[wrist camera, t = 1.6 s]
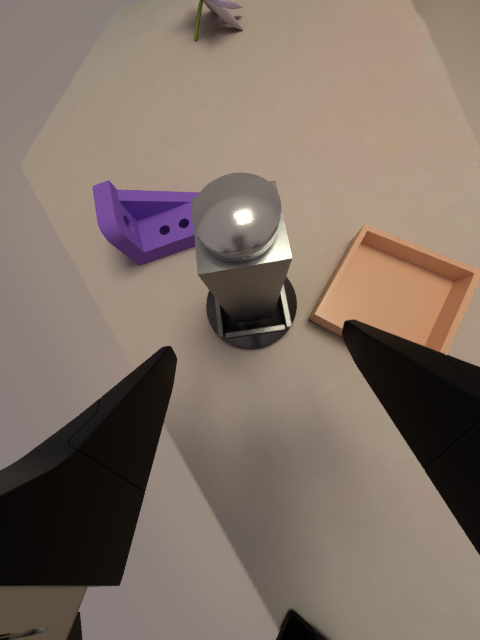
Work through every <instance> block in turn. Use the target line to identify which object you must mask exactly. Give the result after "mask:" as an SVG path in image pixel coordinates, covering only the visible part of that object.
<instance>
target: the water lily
mask: <svg viewBox="0 0 480 640" xmlns="http://www.w3.org/2000/svg"><path fill="white" fill-rule="evenodd" d="M203 1H204V3H205V5H206V6H207V7H208V8H209V9H210V10H211V11H213V12H216V13H217V14H218V15H219V16H220V17H221V18H222V19H223V20H224V21H225V22H227V23H228V24H230V25H231V26H233V27H235V28H237V29H239V30H243V29H242V28H241V26H240V24H239V23H238V22H237V20H236V19H235V18H234V17H233V16H232V15H231V14H230V13H229V12H228V11H227V10H225V9H223V8H228V9H238V8H243V7H241V6H240V5H238V4H236V3H234V2H231V1H229V0H200V2H199V7H198V12H197V18H196V25H195V34H194V38H195V39H196V40H197V39H198V29H199V22H200V16H201V10H202V5H203ZM222 7H223V8H222Z"/></svg>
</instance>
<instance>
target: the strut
mask: <svg viewBox="0 0 480 640" xmlns="http://www.w3.org/2000/svg"><path fill="white" fill-rule="evenodd" d="M191 201H192V223H193V226H194V236H195V247H196V259H197V270H198V276H199V277H200V278H201V280H202V281H203V282H204V283H205V285H206V286H207V287H208V289H209V290H210V291H211V293H212V294H213V295H214V297H215V298H216V299H217V301H218V302H219V303H220V305H221V306H222V307H223V309H224V310H225V311H226V313H227V314H228V315H229V317H230V318H231V319H232V321H233V322H234V323H242V322H249V321H255V320H262V319H268V318H272V316H273V313H274V310H275V307H276V304H277V302H278V299H279V296H280V293H281V290H282V287H283V284H284V281H285V278H286V275H287V272H288V269H289V266H290V263H291V260H292V255H291V251H290V246H289V242H288V237H287V232H286V228H285V223H284V219H283V214H282V209H281V201H280V197H279V195H278V191H277V186H276V182H275V181H270V182H268V181H267V180H265V179H264V178H262V177H260V176H257V175H254V174H249V173H233V174H228V175H224V176H222V177H219V178H217V179H215V180H214V181H212V182H211V183H209V184H208V185H207V186H205V187H204V189H203V190H202V191H201V192H200V193H199V194H198V196H197V197H194V198H191Z"/></svg>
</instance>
